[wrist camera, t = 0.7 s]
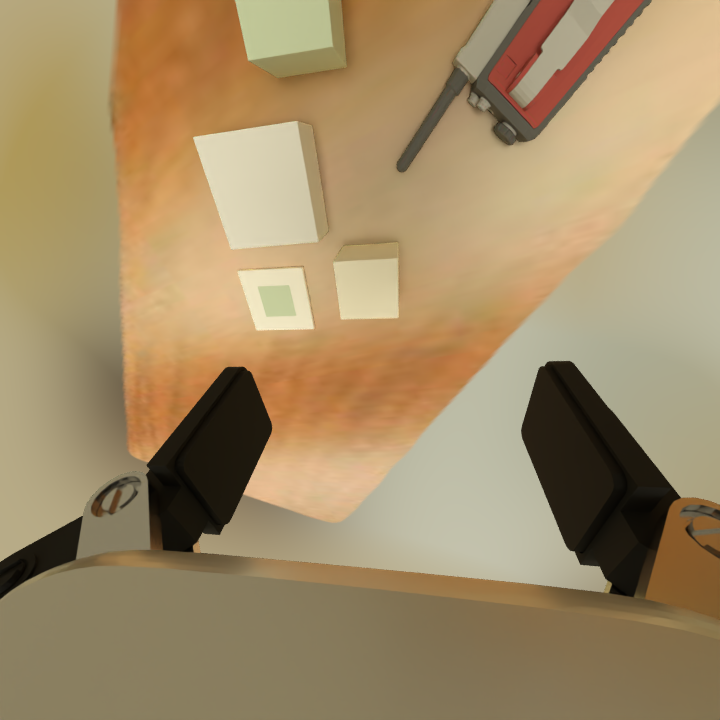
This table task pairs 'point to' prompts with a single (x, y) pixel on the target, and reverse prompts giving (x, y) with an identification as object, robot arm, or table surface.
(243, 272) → the card
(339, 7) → the sage cube
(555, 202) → the table surface
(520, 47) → the walkie-talkie
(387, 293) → the cream cube
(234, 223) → the base block
